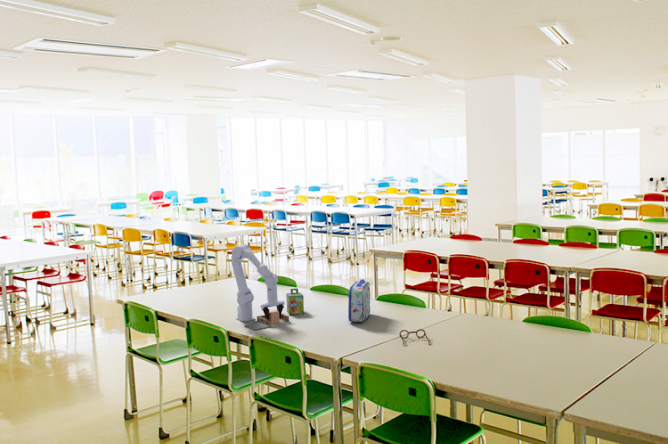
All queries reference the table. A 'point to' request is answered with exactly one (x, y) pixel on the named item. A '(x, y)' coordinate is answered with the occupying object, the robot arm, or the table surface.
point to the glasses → (413, 332)
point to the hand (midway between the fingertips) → (273, 318)
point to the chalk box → (295, 302)
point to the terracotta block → (273, 316)
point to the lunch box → (359, 301)
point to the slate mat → (257, 326)
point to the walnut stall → (265, 321)
